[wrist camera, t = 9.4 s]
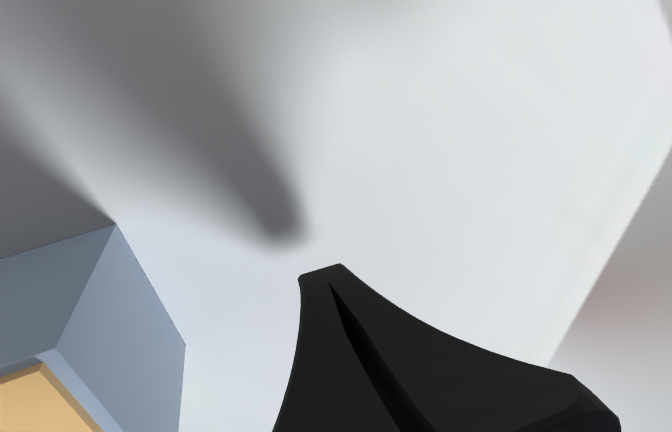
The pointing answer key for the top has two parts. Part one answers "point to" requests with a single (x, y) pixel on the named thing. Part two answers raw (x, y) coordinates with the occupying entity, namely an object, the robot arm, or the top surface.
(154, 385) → the module block
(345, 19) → the top surface
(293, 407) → the robot arm
